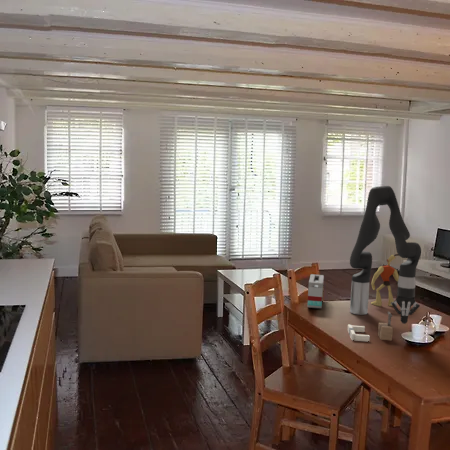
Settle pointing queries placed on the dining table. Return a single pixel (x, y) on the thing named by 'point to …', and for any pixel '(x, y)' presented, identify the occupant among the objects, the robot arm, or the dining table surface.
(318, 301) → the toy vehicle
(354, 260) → the robot arm
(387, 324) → the tan block
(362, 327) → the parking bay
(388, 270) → the toy
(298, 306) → the dining table surface
